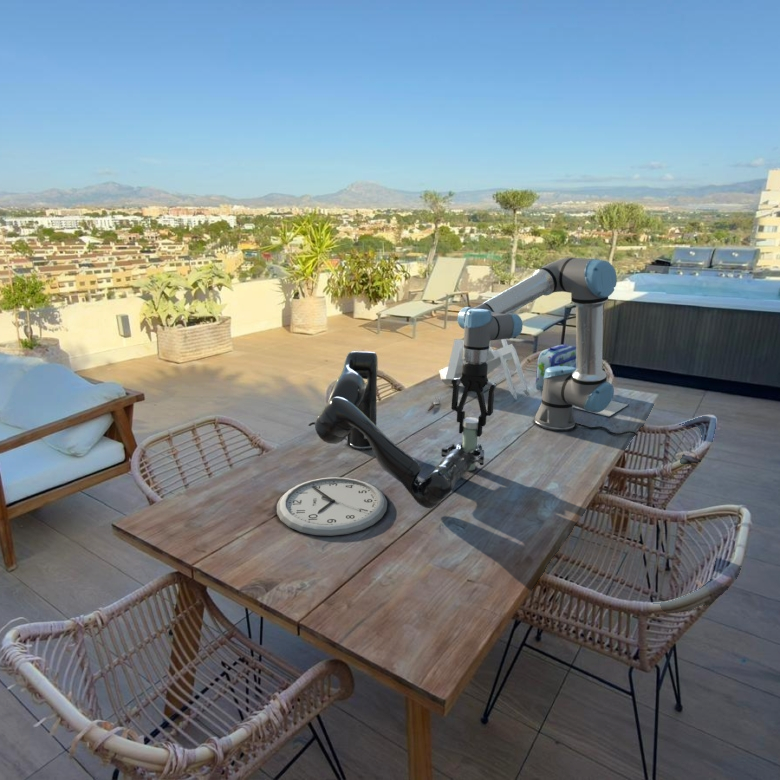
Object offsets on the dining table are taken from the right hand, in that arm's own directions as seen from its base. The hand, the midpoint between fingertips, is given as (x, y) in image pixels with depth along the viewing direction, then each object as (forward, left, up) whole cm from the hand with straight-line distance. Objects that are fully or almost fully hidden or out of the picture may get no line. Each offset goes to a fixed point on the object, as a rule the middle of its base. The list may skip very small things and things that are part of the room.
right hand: (470, 433), depth 163 cm
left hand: (-1, -3, -5) cm, 6 cm away
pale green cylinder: (0, 0, -12) cm, 12 cm away
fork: (+13, -57, -12) cm, 60 cm away
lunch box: (-44, -92, -12) cm, 103 cm away
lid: (0, 0, +4) cm, 4 cm away
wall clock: (+37, +30, -12) cm, 49 cm away
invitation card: (-59, -69, -12) cm, 92 cm away
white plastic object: (-7, -81, -12) cm, 82 cm away
